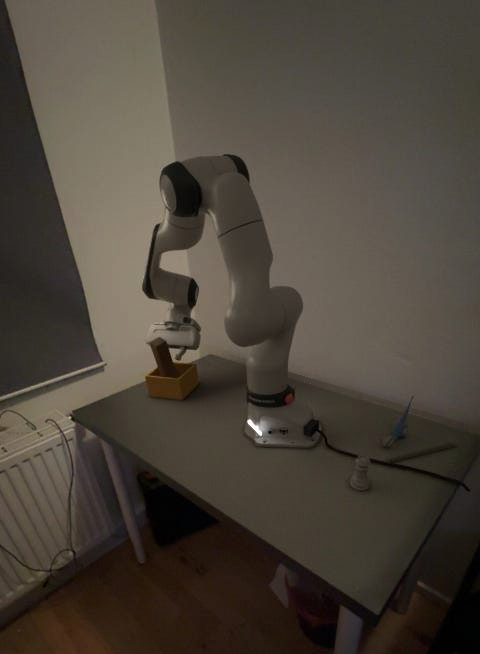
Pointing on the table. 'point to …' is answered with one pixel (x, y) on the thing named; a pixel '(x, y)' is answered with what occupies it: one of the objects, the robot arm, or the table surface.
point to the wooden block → (163, 358)
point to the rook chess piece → (361, 474)
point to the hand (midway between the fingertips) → (168, 359)
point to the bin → (173, 382)
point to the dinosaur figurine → (397, 429)
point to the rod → (422, 453)
